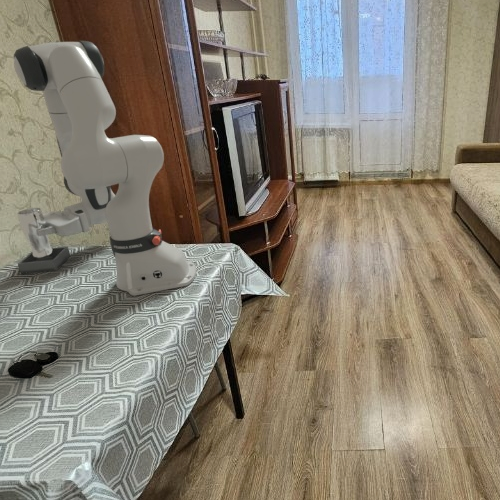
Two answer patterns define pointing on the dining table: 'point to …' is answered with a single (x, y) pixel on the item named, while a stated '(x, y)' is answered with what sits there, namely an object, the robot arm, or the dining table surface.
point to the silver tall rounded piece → (30, 224)
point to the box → (44, 261)
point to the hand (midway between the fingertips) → (32, 231)
